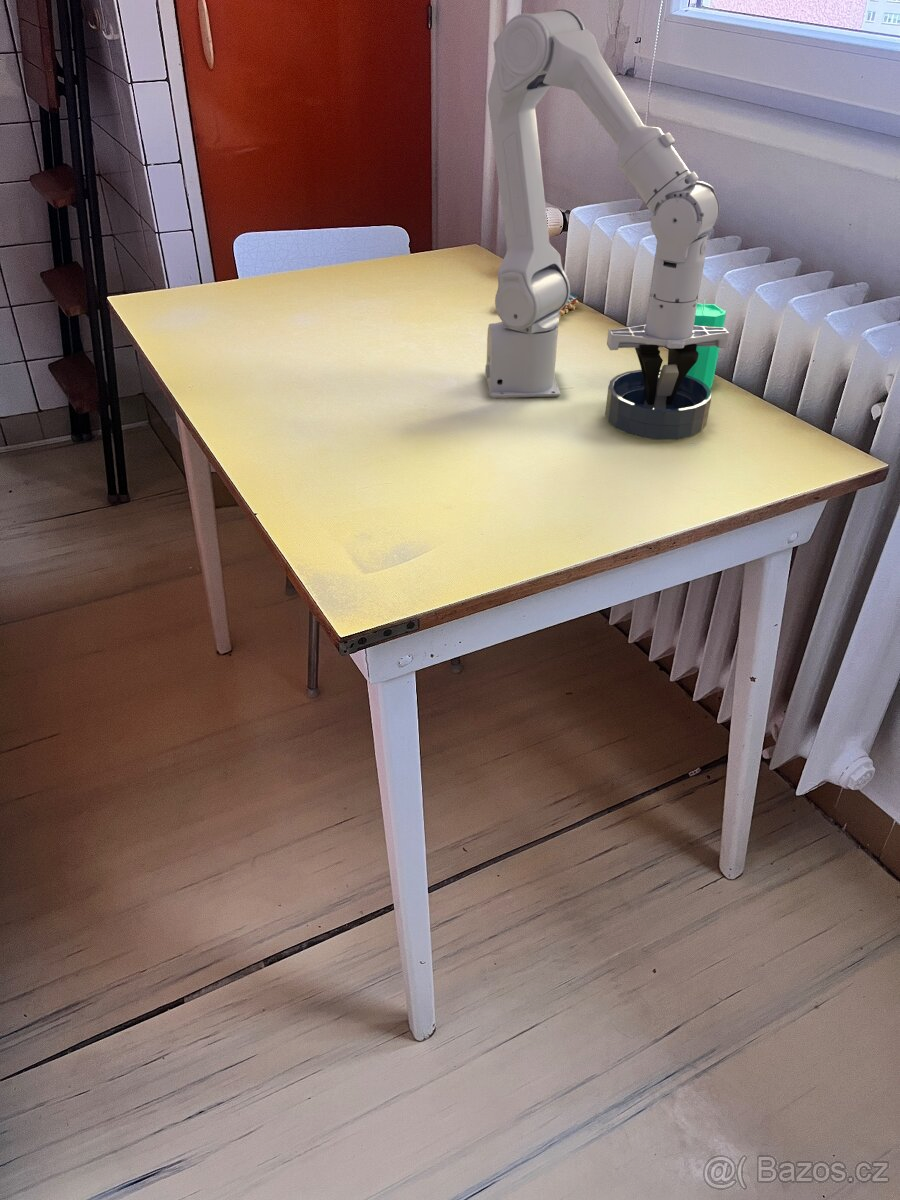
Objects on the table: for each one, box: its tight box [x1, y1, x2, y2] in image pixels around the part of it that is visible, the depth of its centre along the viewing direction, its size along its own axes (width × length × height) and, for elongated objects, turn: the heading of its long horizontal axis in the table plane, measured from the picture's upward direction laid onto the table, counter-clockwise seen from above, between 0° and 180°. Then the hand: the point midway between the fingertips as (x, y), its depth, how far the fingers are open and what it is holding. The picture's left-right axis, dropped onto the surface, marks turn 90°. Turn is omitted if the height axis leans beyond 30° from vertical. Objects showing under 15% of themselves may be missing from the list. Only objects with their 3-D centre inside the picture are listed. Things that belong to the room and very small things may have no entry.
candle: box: [686, 297, 727, 390], centre depth 127 cm, size 6×6×12 cm
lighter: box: [644, 364, 679, 409], centre depth 118 cm, size 7×2×8 cm, turn 4°
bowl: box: [604, 369, 713, 441], centre depth 120 cm, size 13×13×4 cm
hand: (658, 401), depth 119 cm, fingers closed on lighter, 2 cm apart
